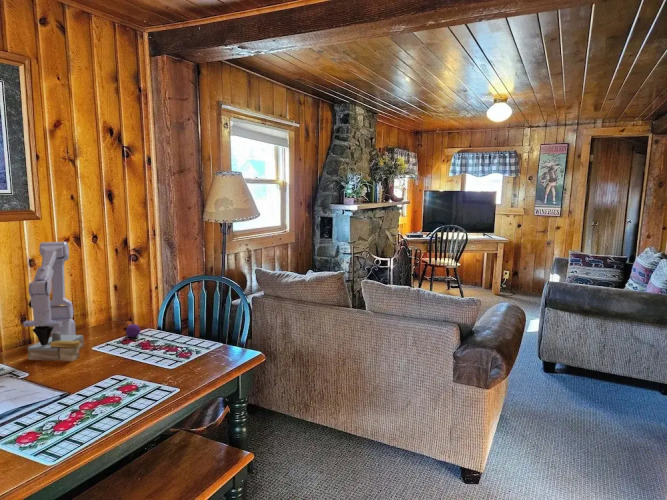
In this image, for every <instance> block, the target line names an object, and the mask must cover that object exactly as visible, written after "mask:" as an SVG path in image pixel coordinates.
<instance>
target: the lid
mask: <svg viewBox="0 0 667 500" xmlns="http://www.w3.org/2000/svg"><path fill="white" fill-rule="evenodd" d="M81 338H83V339H84V335H81V334H76V335H61V334H60V332H53V333H52V337H51V336H49V341H48V344H46V345H41V343H40V341H38V342H36V343H35V344H32V345H29V346H27V351H28V350H47V351H58V350H60V348H61V347H51V346H50V343H52V342H54V341H77V340H79V339H81Z"/></svg>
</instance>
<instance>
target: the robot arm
mask: <svg viewBox="0 0 667 500" xmlns="http://www.w3.org/2000/svg"><path fill="white" fill-rule="evenodd" d="M38 251H39V254H40V256H41V258H42V260H41V261H42V262H41V266H39V267H37V269H36V272H35V275H34V278H33V280H32V281H31V282H29V284H28V294H29V296H30V301H31V303H32V316H33V317H32V318H33V320H25V321H23V323H22V324H23V328H27V327H29V328H30V327H31V328H32V327H34V328H33V329H32V332H33V333H34V335H36V336H37V339H38V340H39V341H38V342H40V343H41V345H46V344H48V341H49V337H52V333H53V332H60V334H61V335H77V334H76V322H75V321H74V319H73V317H74V307H73V306H74V305H73V302H72V301H71V300H70V299H67V298H66V292H65V291H66V289H65V288H66V284H65V280H66V279H65V262H66V261H68V260H69V257H70V246H69V244H68V242H67V241H46V242H45V241H42V242H41V243H39V249H38ZM51 294H52V298H51Z"/></svg>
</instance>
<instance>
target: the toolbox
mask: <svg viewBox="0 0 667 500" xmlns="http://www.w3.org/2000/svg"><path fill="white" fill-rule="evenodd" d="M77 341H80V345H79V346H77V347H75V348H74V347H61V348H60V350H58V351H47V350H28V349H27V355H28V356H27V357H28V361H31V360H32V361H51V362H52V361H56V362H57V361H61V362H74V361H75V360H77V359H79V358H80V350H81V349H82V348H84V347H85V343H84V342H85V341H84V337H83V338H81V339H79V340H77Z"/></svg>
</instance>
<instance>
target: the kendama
mask: <svg viewBox="0 0 667 500" xmlns="http://www.w3.org/2000/svg"><path fill="white" fill-rule="evenodd" d="M124 327H126V328H125V335H127V336H128V337H129V338H136V337H138V336H139V335H140V333H141V327H140V326H139V325H138V324H135V323H133V322H132V321H131V320H127V321H125V322H124Z"/></svg>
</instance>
